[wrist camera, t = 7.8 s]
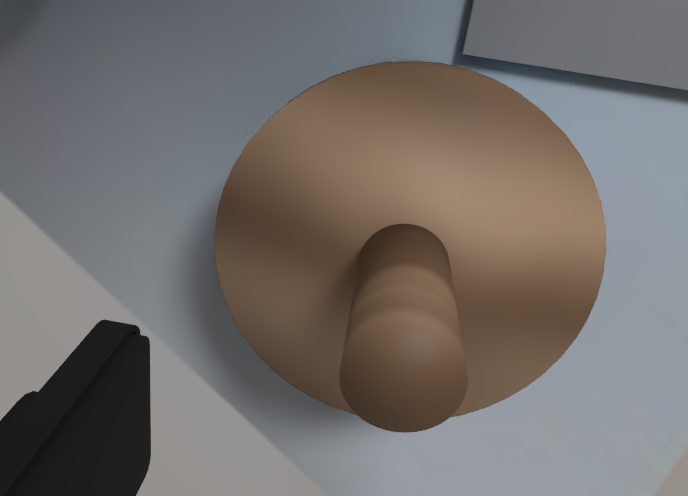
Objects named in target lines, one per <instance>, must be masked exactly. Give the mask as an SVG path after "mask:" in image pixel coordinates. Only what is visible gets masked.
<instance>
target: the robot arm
mask: <svg viewBox="0 0 688 496" xmlns="http://www.w3.org/2000/svg"><path fill="white" fill-rule="evenodd" d="M150 437H151V431H150V344H149V338H148V337H147V336H142V335H140V330H139V328H138V326H136V325H131V324H125V323H120V322H114V321H108V320H101V321H100V322H99V323H97V324H96V326H95V327H94V328H93V329H92V330H91V332H90V333H89V334H88V335H87V336H86V337H85V338H84V340H83V341H82V342H81V343H80V344H79V345H78V346H77V348H76V349H75V350H74V351H73V352H72V353H71V355H70V356H69V357H68V358H67V359H66V361H65V362H64V363H63V364H62V365H61V366H60V367H59V369H58V370H57V371H56V372H55V373H54V374H53V376H52V377H51V378H50V379H49V380H48V381H47V383H46V384H45V385H44V386H43V387H42V388H41V389H40V391H39V392H35V391H32V392H30V393H27V394H25V395H24V396H23V397H22V398H21V399H20V400H19V401H18V402H17V403H16V404H15V405H14V406H13V407H12V409H11V410H10V411H9V412H8V413H7V414H6V415H5V416H4V417H3V418H2V420H1V421H0V496H136V494H137V492H138V490H139V488H140V486H141V484H142V482H143V480H144V478H145V476H146V473H147V471H148V467H149V463H150V456H151V438H150Z"/></svg>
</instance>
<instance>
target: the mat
mask: <svg viewBox="0 0 688 496" xmlns="http://www.w3.org/2000/svg"><path fill="white" fill-rule="evenodd" d="M462 54H465V55H471V56H477V57H483V58H490V59H496V60H502V61H508V62H515V63H521V64H527V65H533V66H540V67H546V68H552V69H558V70H565V71H571V72H577V73H583V74H590V75H596V76H602V77H608V78H615V79H621V80H627V81H633V82H640V83H646V84H652V85H658V86H665V87H671V88H677V89H683V90H688V0H473V2H472V7H471V11H470V16H469V21H468V25H467V30H466V35H465V39H464V44H463V49H462Z"/></svg>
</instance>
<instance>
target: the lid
mask: <svg viewBox="0 0 688 496" xmlns="http://www.w3.org/2000/svg"><path fill="white" fill-rule="evenodd" d="M605 255H606V232H605V222H604V216H603V211H602V205H601V201H600V198H599V195H598V192H597V189H596V186H595V183H594V180H593V178H592V176H591V174H590V172H589V170H588V168H587V166H586V164H585V162H584V161H583V159H582V157H581V155H580V154H579V152H578V151H577V149H576V148H575V147H574V145H573V144H572V143H571V141H570V140H569V139H568V137H567V136H566V134H565V133H564V132H563V131H562V130H561V129H560V128H559V127H558V126H557V125H556V124H555V123H554V122H553V121H552V120H551V119H550V118H549V117H548V116H547V115H546V114H545V113H544V112H543V111H541V110H540V109H539V108H538V107H537V106H535V105H534V104H533V103H531V102H530V101H529V100H527V99H526V98H525V97H523V96H522V95H521V94H519V93H518V92H516V91H515V90H513V89H511V88H509V87H507V86H506V85H504V84H502V83H500V82H498V81H496V80H495V79H492V78H490V77H487V76H484V75H482V74H479V73H476V72H474V71H471V70H469V69H465V68H460V67H456V66H451V65H447V64H442V63H433V62H421V61H401V62H385V63H379V64H374V65H369V66H363V67H359V68H356V69H353V70H350V71H347V72H344V73H341V74H338V75H335V76H332V77H330V78H328V79H326V80H324V81H322V82H320V83H318V84H316V85H314V86H312V87H310V88H308V89H307V90H306V91H304V92H303V93H301V94H300V95H298V96H297V97H295V98H294V99H292V100H291V101H289V102H288V103H287V104H286V105H285V106H284V107H282V108H281V109H280V110H279V111H278V112H277V113H276V114H275V115H274V116H272V117H271V118H270V119H269V120H268V121H267V122H266V123H265V124H264V125H263V126H262V127H261V128H260V130H259V131H258V132H257V133H256V134H255V136H254V137H253V138H252V139H251V140H250V141H249V143H248V144H247V145H246V147H245V148H244V150H243V151H242V153H241V155H240V156H239V158H238V160H237V161H236V163H235V164H234V166H233V168H232V170H231V173H230V175H229V177H228V180H227V182H226V184H225V187H224V189H223V193H222V196H221V200H220V204H219V207H218V211H217V218H216V226H215V261H216V267H217V274H218V280H219V283H220V286H221V290H222V293H223V296H224V300H225V302H226V304H227V307H228V309H229V311H230V313H231V316H232V318H233V320H234V322H235V323H236V325H237V327H238V328H239V330H240V331H241V333H242V335H243V336H244V338H245V339H246V341H247V342H248V343H249V345H250V346H251V347H252V348H253V350H254V351H255V352H256V353H257V355H258V356H259V357H260V358H261V359H262V360H263V361H264V362H265V363H266V364H267V365H268V366H269V367H270V368H271V369H272V370H273V371H274V372H276V373H277V374H278V375H280V376H281V377H282V378H283V379H285V380H286V381H287V382H289V383H290V384H291V385H293V386H294V387H296V388H297V389H299V390H301V391H302V392H304V393H306V394H307V395H309V396H311V397H313V398H315V399H317V400H319V401H321V402H323V403H325V404H328V405H330V406H332V407H335V408H338V409H341V410H344V411H347V412H350V413H353V414H357V415H358V416H359V417H360V418H362V419H363V420H365V421H366V422H368V423H369V424H372V425H374V426H376V427H378V428H381V429H384V430H389V431H394V432H417V431H422V430H426V429H429V428H432V427H434V426H437V425H439V424H440V423H442V422H444V421H445V420H447V419H448V418H449V417H454V416H459V415H464V414H467V413H470V412H473V411H477V410H480V409H483V408H486V407H488V406H490V405H493V404H495V403H497V402H499V401H502V400H504V399H506V398H508V397H510V396H511V395H513V394H515V393H516V392H518V391H520V390H522V389H523V388H525V387H527V386H528V385H529V384H531V383H532V382H533V381H535V380H536V379H537V378H539V377H540V376H541V375H542V374H544V373H545V372H546V371H547V370H548V369H549V368H550V367H551V366H552V365H553V364H554V363H555V362H556V361H557V360H558V359H559V358H561V356H562V355H563V354H564V353H565V351H566V350H567V349H568V348H569V346H570V345H571V344H572V343H573V341H574V340H575V339H576V337H577V336H578V334H579V332H580V331H581V329H582V327H583V326H584V324H585V322H586V321H587V319H588V317H589V314H590V312H591V310H592V308H593V305H594V303H595V301H596V298H597V295H598V291H599V288H600V284H601V281H602V277H603V271H604V263H605Z"/></svg>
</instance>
